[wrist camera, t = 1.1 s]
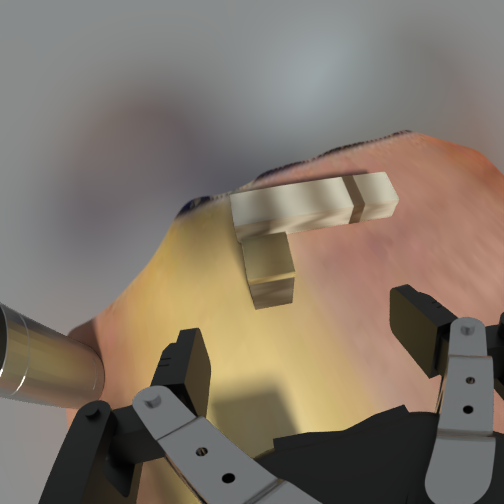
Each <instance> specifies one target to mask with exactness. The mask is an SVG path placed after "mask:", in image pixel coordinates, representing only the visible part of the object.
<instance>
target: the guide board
mask: <svg viewBox="0 0 504 504" xmlns="http://www.w3.org/2000/svg"><path fill="white" fill-rule="evenodd" d="M229 196H230V203H231V209H232V216H233V223H234V228H235V232H236V236H237V240H238V243H241V239H245V238H251V237H256V236H262V235H267V234H273V233H279V232H284V231H286V234H291V233H297V232H302V231H308V230H314V229H320V228H325V227H331V226H337V225H343V224H351V223H356V222H360V221H366V220H372V219H378V218H384V217H390V216H392V214H393V212H394V209H395V207H396V205H397V203H398V201H399V198H398V196H397V194H396V192H395V190H394V188H393V186H392V184H391V182H390V180H389V178H388V177H387V175H386V173H385V172H379V173H370V174H361V175H353V176H352V175H347V176H341V177H338V178H330V179H323V180H316V181H309V182H302V183H296V184H289V185H283V186H277V187H271V188H265V189H259V190H253V191H248V192H242V193H237V194H231V195H229Z"/></svg>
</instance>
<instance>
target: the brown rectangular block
mask: <svg viewBox="0 0 504 504" xmlns="http://www.w3.org/2000/svg"><path fill="white" fill-rule="evenodd" d="M241 243H242V249H243V255H244V261H245V267H246V273H247V280H248V284H249V287H250V290H251V294H252V298H253V302H254V306H255V309H256V310H257V309H262V308H268V307H273V306H279V305H284V304H289V303H292V299H293V289H294V278H295V268H294V264H293V260H292V256H291V252H290V248H289V243H288V239H287V235H286V231H284V232H279V233H273V234H267V235H262V236H256V237H251V238H245V239H241Z"/></svg>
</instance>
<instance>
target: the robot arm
mask: <svg viewBox="0 0 504 504" xmlns="http://www.w3.org/2000/svg"><path fill="white" fill-rule="evenodd" d="M390 327H391V330H392V333H393V334H394V336H395V337H396V338H397V339H398V340H399V342H400V343H401V344H402V345H403V347H404V348H405V349H406V350H407V351H408V353H409V354H410V355H411V356H412V358H413V359H414V360H415V361H416V363H417V364H418V365H419V366H420V368H421V369H422V370H423V371H424V373H425V374H426V375H427V376H428V378H429V379H430V378H432V377H435V376H437V375H441V376H442V377H441V382H440V387H439V392H438V398H437V403H436V408H435V412H434V413H433V412H408V410H407V409H406V407H405V405H401V406H398V407H396V408H393V409H390V410H387V411H384V412H381V413H378V414H375V415H373V416H371V417H369V418H367V419H366V420H364V421H362V422H360V423H358V424H356V425H354V426H352V427H350V428H348V429H346V430H343V431H330V432H307V433H302V434H297V435H292V436H286V437H281V438H275V439H273V442H274V448H273V449H271V450H268V451H266V452H264V453H262V454H260V455H258V456H256V457H255V458H253V459H252V458H250V457H249V456H248V455H247V454H246V453H244V452H243V451H242V450H241V449H240V448H238V447H237V446H236V445H235V444H234V443H232V442H231V441H230V440H229V439H228V438H227V437H226V436H224V435H223V434H222V433H221V432H220V431H219V430H218V429H217V428H215V427H214V426H213V425H212V424H211V423H210V422H209V421H208V420H207V419H206V414H207V405H208V396H209V387H210V378H211V365H210V360H209V356H208V353H207V350H206V347H205V344H204V341H203V337H202V334H201V331H200V329H199V328H192V329H186V330H181V331H180V333H179V336H178V339H177V342H176V343H170V344H169V345H168V346H167V347H166V348H165V349H164V350H163V352H162V355H161V358H160V361H159V363H158V367H157V368H156V371H155V374H154V377H153V379H152V382H151V385H150V387H148V388H145V389H143V390H142V391H140V392H139V393H138V394H137V395H136V396H135V397H134V399H133V402H132V405H130V406H127V407H123V408H119V409H115V410H112V409H111V407H110V405H109V404H108V403H107V402H105V401H101V400H98V399H99V397H100V395H101V393H102V391H103V386H104V368H103V365H102V362H101V360H100V358H99V356H98V355H97V353H96V352H95V351H94V350H93V349H92V348H91V347H89V346H87V345H85V344H83V343H80V342H78V341H76V340H74V339H71V338H69V337H67V336H65V335H63V334H61V333H58V332H56V331H54V330H52V329H50V328H48V327H46V326H44V325H42V324H40V323H38V322H36V321H34V320H32V319H30V318H28V317H26V316H24V315H22V314H21V313H19V312H17V311H15V310H13V309H11V308H9V307H8V306H6V305H4V304H2V303H1V302H0V397H2V398H7V399H12V400H17V401H22V402H28V403H35V404H40V405H47V406H55V407H61V408H71V409H79V410H78V412H77V414H76V416H75V418H74V420H73V422H72V424H71V426H70V429H69V431H68V433H67V435H66V438H65V440H64V442H63V444H62V446H61V449H60V451H59V453H58V456H57V458H56V460H55V463H54V465H53V467H52V470H51V472H50V475H49V477H48V480H47V482H46V485H45V488H44V490H43V493H42V495H41V498H40V501H39V503H38V504H136V500H137V494H138V488H139V482H140V477H141V471H142V466H143V462H146V461H150V460H154V459H158V458H162V457H164V458H165V459H166V461H167V462H168V463H169V465H170V466H171V467H172V468H173V470H174V471H175V472H176V474H177V475H178V476H179V477H180V478H181V480H182V481H183V482H184V483H185V485H186V486H187V487H188V488H189V489H190V491H191V492H192V493H193V494H194V495H195V497H196V498H197V499H198V500H199V501H200V503H201V504H504V434H502V433H499V432H495V431H493V413H494V389H495V390H496V392H497V393H498V394H499V395H500V396H501V398H502V399H503V400H504V312H503V313H502V314H501V316H500V321H499V324H498V325H492V326H486V327H485V326H484V324H483V323H482V322H481V321H480V320H478V319H475V318H471V317H462V318H458V317H457V316H455V315H454V314H453V313H452V312H450V311H449V310H448V309H447V308H445V307H444V306H442V305H441V304H440V303H439V302H437V301H436V300H435V299H434V298H433V297H431V296H430V295H427V294H424V293H421V292H417V291H416V290H415V289H414V288H412V287H411V286H410V285H408V284H406V285H402V286H398V287H395V288H392V289H391V290H390Z"/></svg>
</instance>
